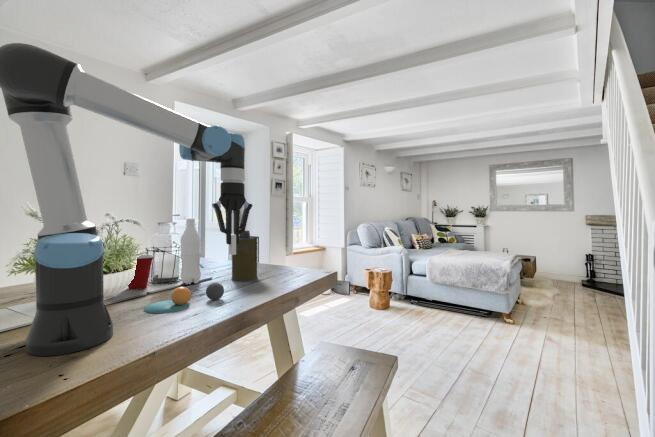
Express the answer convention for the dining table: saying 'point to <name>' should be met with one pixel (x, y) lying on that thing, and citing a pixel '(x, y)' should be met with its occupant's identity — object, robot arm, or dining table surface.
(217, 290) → the dark gray ball
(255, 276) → the canister
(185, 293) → the orange ball
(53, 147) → the robot arm
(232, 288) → the dining table surface
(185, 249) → the water bottle
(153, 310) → the teal mark
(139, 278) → the plastic cup
